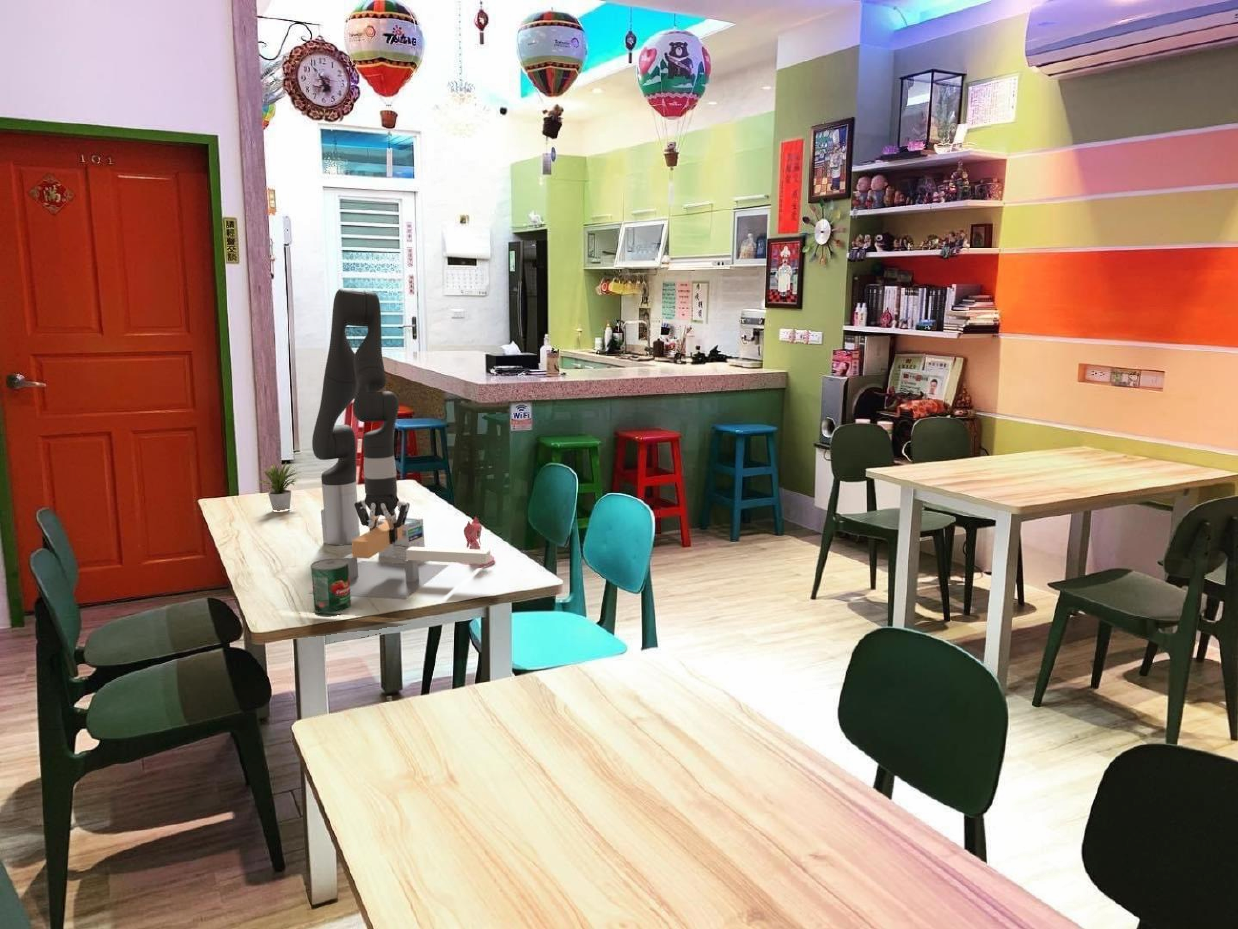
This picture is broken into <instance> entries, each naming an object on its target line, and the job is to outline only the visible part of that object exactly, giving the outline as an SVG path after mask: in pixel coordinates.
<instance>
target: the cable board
mask: <svg viewBox="0 0 1238 929" xmlns="http://www.w3.org/2000/svg"><path fill="white" fill-rule="evenodd" d="M342 559H346V560H347V561H348V569H349V583H350V584H349V585H350V596H351V597H359V598H376V599H394V600H395V599H396V600H406V599H408V598H409V597H410V596H412V595H413V594H414V593H415V592H417V591H418V590H419V589H420V588H421V587H423V586H424V585H425V584H427V583H428V582H429V581H430V580H432V579H433V578H434V577H436V576H437V575H439V573H441V572H442V571H443V570H445V569H446V568H447V567H448V566H449V564H438V563H437V564H434V563H433V564H432V563H419V561H414V560H406V559H404V562H394V561H393V562H390V561H374V560H373V561H372V560H360V561H359V562H358V558H353V553H352V554H349V553H348V554H347V555H345V556H344V557H343V558H342ZM308 594H309V595H313V590H312V591H310V592H309V593H308Z"/></svg>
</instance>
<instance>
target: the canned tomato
mask: <svg viewBox="0 0 1238 929" xmlns="http://www.w3.org/2000/svg"><path fill="white" fill-rule="evenodd" d="M310 569H311V570H310V571H311V582H312V583H311V584H312V591H313V594H312V595H313V607H314V610H315V612H314V615H316V616H318V617H323V618H331V616H333V617H338V616H337V615H339V616H342V615H341V614H342V613H338V612H341V611H345V610H347V609H349V608H350V607H351V605H352V598H351V597H352V596H350V585H349V584H350V583H349V569H348V561H347V560H346V559H343V558H342V557H341V558H340V557H332V558H331V557H329V558H324V559H319V560H316V561H313V562H311V564H310ZM336 612H337V613H336Z"/></svg>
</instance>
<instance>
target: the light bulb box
mask: <svg viewBox="0 0 1238 929" xmlns="http://www.w3.org/2000/svg"><path fill="white" fill-rule="evenodd" d="M396 519H398V515H396ZM384 522H386V519H385V517H383V518H379V519H378V524H377V526H379V525H381V524H383V523H384ZM410 547H426V545H425V532H424V519H423V518H418V517H408V516H407V517H406V521H405V524H404V525H402V538H401V539H399V540H397V541H396V542H395V543H394V544H391V545H389V546H388V547H386V548H385V549H383V550H382V551H380V552H378V556H379V557H383V558H384V557H386V558H393V559H399V560H407V558H406V550H407V549H408V548H410Z"/></svg>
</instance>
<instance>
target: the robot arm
mask: <svg viewBox="0 0 1238 929" xmlns="http://www.w3.org/2000/svg"><path fill="white" fill-rule="evenodd" d="M380 302H381V301H380V299H379V296H378V294H377V293H376V292H374V291H370V290H364V289H354V288H353V289H352V288H339V289H338V290H337V291H336V292H335V294H334V297H333V305H332V315H331V316H332V318H331V331H330V340H329V346H328V347H329V348H328V353H327V359H326V365H325V369H324V376H323V383H322V393H321V400H320V406H319V409H318V413H317V417H316V421H315V424H314V428H313V433H312V438H311V439H312V440H311V441H312V442H311V448H312V451H313V456H315V458H316V459H318V460H320V461H326V460H327V461H329V460H330V461H331V460H337V462H336V463H335V464H334V465H333V466H332V467H330V468H329V469H327V470H325V471H323V472H322V473H321V476H320V477H321V489H322V491H321V492H322V502H323V504H322V505H323V509H321V510H320V515H321V528H322V530H321V531H322V539H323V544H328V545H333V546H343V545H352V541H353V540H355V539H356V538H358V537H360V536H361V533H360V524H361V525H362V526H366V527H368V529H369V531H370V530H372V529H374V528H376V527H377V524H378V520H379V519H380V517H381V516H383V517H384V518H385V519H386V521H387V522H388V525H389V528H390V530H389V540H390V544H394V543H395V542H396V541H397V539H398V535H397V534H398V533H397V528H399V527H401V526H402V525H404V524H405V521H406V517H408V513H409V509H410V505H411V504H410V503H409V502H402V501H401V500H400V499H399V498H398V484H397V482H398V480H397V466H396V460H395V449H394V448H395V447H394V434H395V433H394V432H395V427H396V422H397V419H398V413H399V409H400V403H399V398H398V397H397V395H396V393H394V392H393V391H387V390H385V391H384V390H383V389H384V388H385V387H386V385H387V375H386V370H385V364H384V361H383V352H382V348H383V347H382V345H383V344H382V341H383V340H382V339H383V338H382V336H383V335H382V311H381V310H382V309H381V303H380ZM347 326H349V327H360V328H361V327H363V328H364V327H365V328H367V333H366V336H365V337H364V339H363V340H362V342H361V343H360V345H359V346H358V347H357V349H356V351H355V352H354V350H353V349H352V347H351V345H350V343H349V340H348V337H347V334H346V328H347ZM382 390H383V391H382ZM352 402H353V404H352V412H353V416H354V417H355V418H356V419H357V421H359V422H361V423H373V422H374V423H375V422H383V423H382V425H381V426H380V427H379V428H377V429H374V430H370V431H368V432H366V433H364V434H363V436H362V444H363V445H362V447H363V448H362V449H363V478H364V479H363V481H364V493H365V498H364V499H363V500H358V492H357V478H356V477H357V443H356V442H357V441H356V435H355V431H354V430H353V428H352V427H351V426H350V425H348V424H338V425H336V422H337V421H338V418H340V416H341V414H342V413H343V412H344V411H345V410H346V409H347V408H348V406H350V404H351V403H352ZM367 508H368V509H369V513H368V511H367V510H368V509H367ZM396 508H397V510H398V512H399V513H398V515H397V512H396ZM396 516H398V519H396Z"/></svg>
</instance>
